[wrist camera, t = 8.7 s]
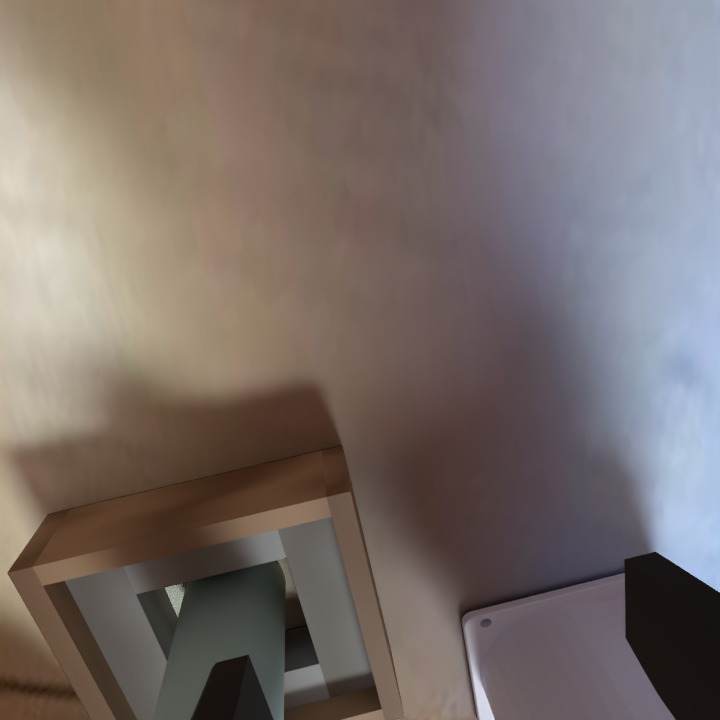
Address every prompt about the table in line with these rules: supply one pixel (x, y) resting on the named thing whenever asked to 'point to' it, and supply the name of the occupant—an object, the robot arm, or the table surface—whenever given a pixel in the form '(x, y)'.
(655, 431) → the table surface
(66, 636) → the box
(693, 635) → the robot arm
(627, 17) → the table surface
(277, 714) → the peg
